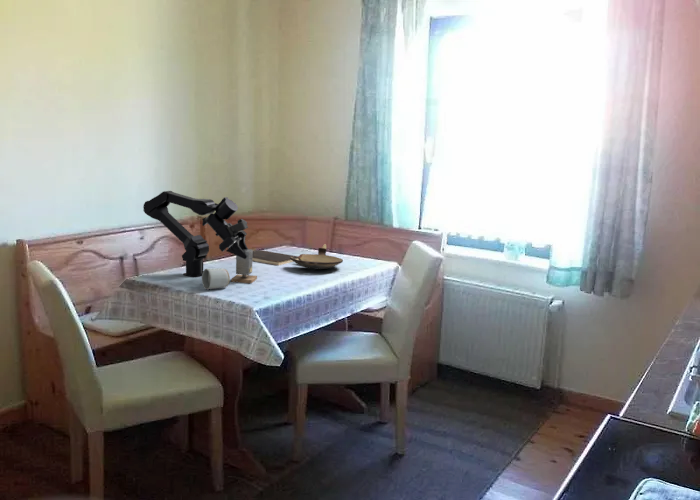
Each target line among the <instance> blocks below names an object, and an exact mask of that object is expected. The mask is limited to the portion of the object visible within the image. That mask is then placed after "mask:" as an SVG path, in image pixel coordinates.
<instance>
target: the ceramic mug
mask: <svg viewBox="0 0 700 500" xmlns="http://www.w3.org/2000/svg"><path fill="white" fill-rule="evenodd" d="M230 279H231V278H230V273H229V271H228V270H227V269H226V268H222V267H221V268H219V267H218V268H204V269H203V274H202V276H201V281H202V282H201V283H202V286H203V288H204V289H205V290H206V289H207V291H208V290H209V289H210V290H217V289H223V288H227V287H228V285H229V284H230Z"/></svg>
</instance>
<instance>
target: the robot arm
mask: <svg viewBox="0 0 700 500" xmlns="http://www.w3.org/2000/svg"><path fill="white" fill-rule="evenodd" d="M170 204H174V205H177V206H180V207H184V208H187V209H190V210H191V211H192V212H193V213H195V214H196V215H198V216H206V215H208V216H207V217H203V218H202V223H201V225H202V226H203V227H204V226H207V224H208V226H209V227H210V228H211V229H212V230H213V232H215V233H214V234H215V236H216V237H219V238H220V239H221V240H222V242H221V243H219V244H218V249H219V250H220V251H221V252H227V253H230V254H231V255H235V256H236V255H237V256H239V257H241V258H244V259H246V258H247V256H246V255H245V253H244V252H243V250H242V249H249V248H248V246H247V243H246V237H247V235H248V234H247V232H246V231H245V230H247V229H249V226H248V222H247V221H246V220H245V219H243V218H241V219H238V220H237V223H235V224H232V223H231V222H229V223H228V222H227V221H228V220H229V219H230V218H231V217H232V216H233V215H234V214H235V213H236V212H238V209H239V207H238V205H237V204H236V202H234V201H233V200H232V199H229V197H227V196H226V197H222V199H221V201H220V202H218V203H216V202H215V201H214V200H213V199H210V198H195V197H192V196H187V195H184V194H181V193H177V192H173V191H172V190H164V191H162V192H160V193H159V194H158V195H156V196H154V197H153V198H151V199H150V200H146V201H145V202H144V203H143V207H142V208H143V212H144V214H146V215H147V216H148V217H150V218H151V219H154V220H157V221H159V222H160V223H161V224H162V225H163V226H164V227H165V228H167V229H168V230H169V231H170V233H172V234H173V235H174V236H175V237H176V238H177V239H178V240H179V241H180V242H181V243H182V245H183V247H184V250H185V252H183V254H182V255H181V257H182V261H183V262H185V272H184V273H182V275H183V276H188V277H193V278H196V277H202V274H203V271H204V260H205V259H206V258H207V256H208V254H209V252H210V245H209V244H208V240H206V239H204V238H203V236H202V235H200V234H199V235H193V234H192V233H191V232H190V231H189V230H188V229H186V227H184V226H183V224H181V223H180V222H179V221H178V220H177V219H176V218H175V217H174V216H173V215H172V214H171V213H170V212H169V209H168V206H169V205H170ZM226 220H227V221H226Z"/></svg>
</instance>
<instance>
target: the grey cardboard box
mask: <svg viewBox="0 0 700 500" xmlns="http://www.w3.org/2000/svg"><path fill="white" fill-rule="evenodd" d="M242 250H243V252H244V253H245V255H246V256H247V258H246V259H244V258H241V257H239V256H237V255H235V258H236V259H235V260H236V261H235V274H236V275H237V274H239V275H251V274H252V273H253V261H252V256H253V251H254V250H253V249H250V248H248V249H242Z"/></svg>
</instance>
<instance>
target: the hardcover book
mask: <svg viewBox="0 0 700 500" xmlns="http://www.w3.org/2000/svg"><path fill="white" fill-rule="evenodd" d="M290 256H291V257H292V258H294V259H296V260H299V259H298V258H297V256H298V255H292V254H286V253H280V252H274V251H268V250H262V249H257V250H253V256H252V262H257V263H263V264H267V265H275V266H282V265H286V264H290V263H294V262H293V261H292V260H291V259H290Z"/></svg>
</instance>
